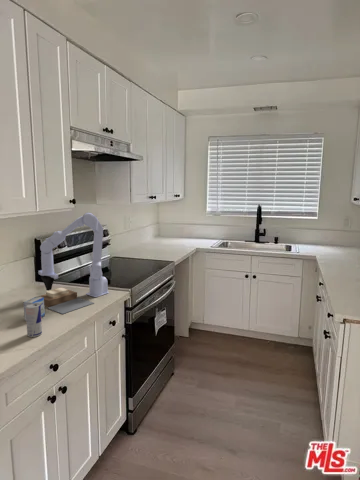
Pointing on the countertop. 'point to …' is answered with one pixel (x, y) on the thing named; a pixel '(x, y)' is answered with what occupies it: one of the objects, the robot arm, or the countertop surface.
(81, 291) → the countertop surface
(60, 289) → the birch tile
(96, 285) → the robot arm
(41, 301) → the medicine box
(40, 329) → the energy drink
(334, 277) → the countertop surface
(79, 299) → the slate mat
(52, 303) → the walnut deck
